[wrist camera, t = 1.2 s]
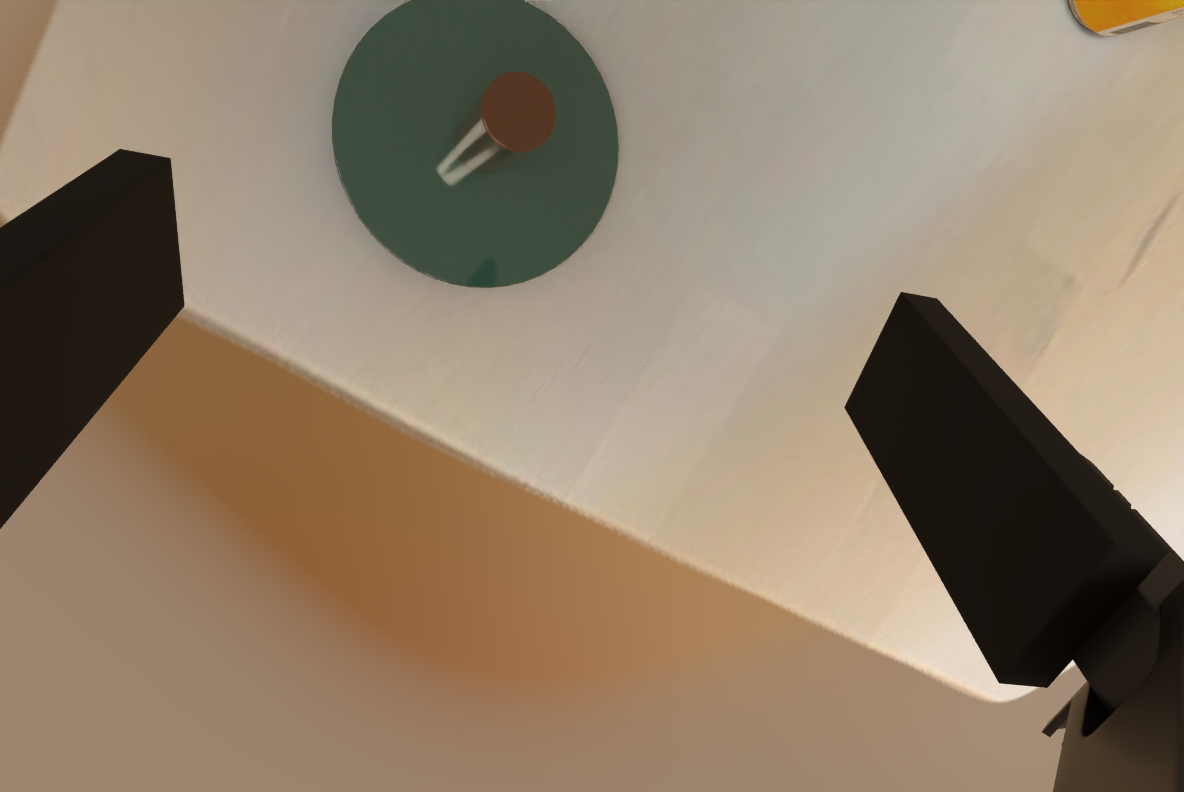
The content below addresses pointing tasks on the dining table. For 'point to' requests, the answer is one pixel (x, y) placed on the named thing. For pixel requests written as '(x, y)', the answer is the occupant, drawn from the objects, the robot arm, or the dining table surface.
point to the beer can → (1124, 14)
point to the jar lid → (475, 140)
